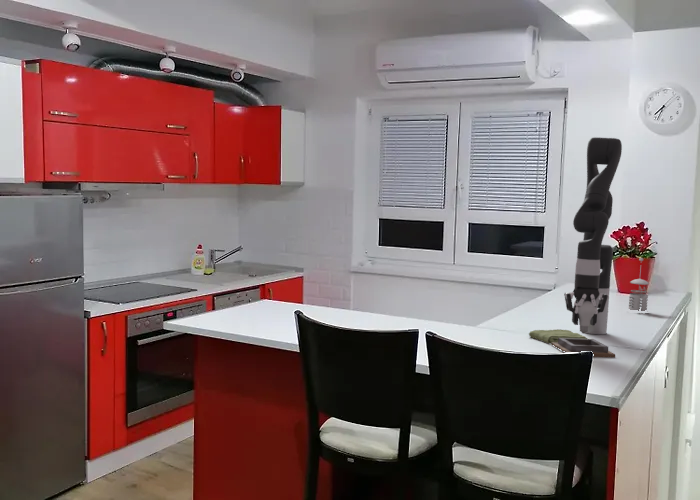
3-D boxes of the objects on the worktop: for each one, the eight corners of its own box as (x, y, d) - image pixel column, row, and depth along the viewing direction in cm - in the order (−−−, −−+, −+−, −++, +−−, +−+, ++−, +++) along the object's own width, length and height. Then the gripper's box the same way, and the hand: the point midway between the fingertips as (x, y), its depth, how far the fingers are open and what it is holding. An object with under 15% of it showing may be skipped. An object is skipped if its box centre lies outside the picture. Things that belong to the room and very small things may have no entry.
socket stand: (551, 345, 234) (551, 336, 234) (594, 346, 235) (595, 337, 234) (568, 356, 218) (569, 346, 218) (615, 357, 219) (615, 348, 218)
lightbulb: (573, 333, 224) (575, 300, 223) (574, 330, 230) (577, 297, 229) (593, 336, 222) (595, 302, 221) (593, 332, 228) (596, 299, 227)
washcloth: (591, 343, 242) (591, 334, 241) (548, 345, 235) (549, 336, 235) (566, 336, 254) (567, 327, 254) (526, 337, 248) (526, 328, 247)
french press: (645, 311, 322) (649, 257, 320) (653, 315, 310) (657, 259, 308) (623, 309, 323) (627, 256, 321) (630, 314, 311) (634, 258, 309)
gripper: (604, 272, 229) (600, 323, 230) (561, 270, 228) (558, 322, 229) (614, 275, 221) (610, 327, 222) (570, 273, 220) (566, 326, 221)
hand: (584, 324), depth 226 cm, fingers closed on lightbulb, 5 cm apart
